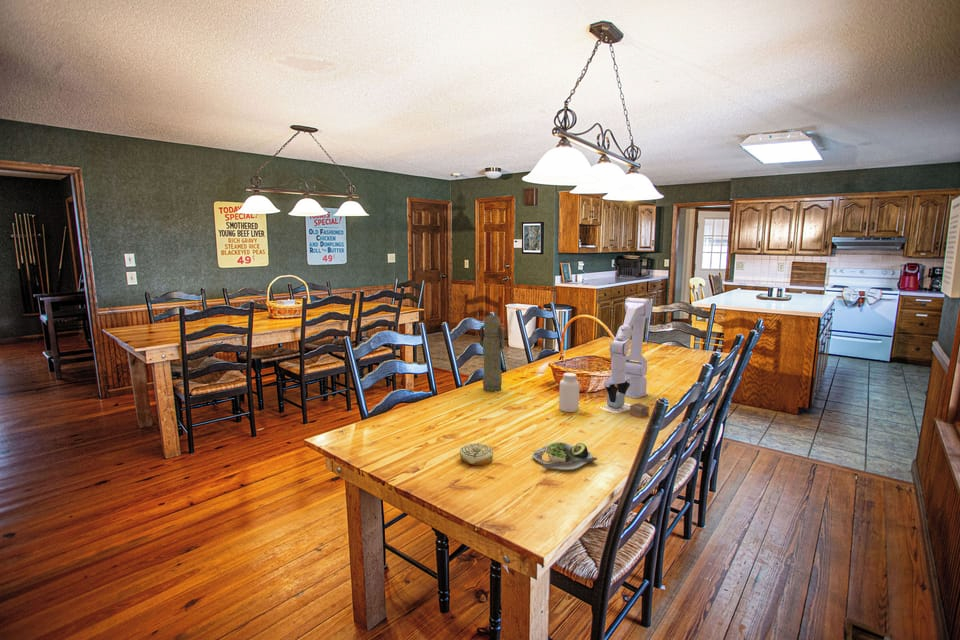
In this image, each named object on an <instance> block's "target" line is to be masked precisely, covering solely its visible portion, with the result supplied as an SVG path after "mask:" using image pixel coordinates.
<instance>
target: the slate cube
mask: <svg viewBox="0 0 960 640" xmlns="http://www.w3.org/2000/svg"><path fill="white" fill-rule="evenodd" d="M625 397H626V396H625V394H623V393H620V392H618V391H617V394H616V400H615V402H614V403H613V402H610V399H609V395H608V392H606V404H607V405H609V406H612V407H615V408H618V407H621V406H624V403H625Z"/></svg>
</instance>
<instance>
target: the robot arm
mask: <svg viewBox="0 0 960 640" xmlns="http://www.w3.org/2000/svg"><path fill="white" fill-rule="evenodd" d="M651 308H652V303H651V300H650V298H639V297H637V298H636V297H631V296H630V297H629V296H628V297H627V298H626V299H625V301H624V309H625V312H626V313H625V316H624V321H623V324H622V325H620V326H619V327H618V329H617V332H616V335H615V338H614V339H613V340H611V341H610V344H609V354H610V358H611V363H610V364H611V365H610V377H608V379H607V380H606V381H604V382H603V383H604V384H603V386H604V388H605V390H606V393H608V395H609V399H610V402H613V403H614V402H615V400H616V394H617V392H620V393H623V394H625V397H629V398H631V399H638V398H641V397H644V396H648V395H649V394H648V393H647V387H648V386H647V384H648V383H647V382H648V380H647V378H646V375H647V374H648V373H647V372H648V360H647V359H646V358H645V356H643V355H642V351H643V350H642V349H643V341H644V333H645V325H646V320H647V318H650V314H651ZM630 340H631V342H630ZM629 350H630V352H629ZM628 353H629V354H628Z"/></svg>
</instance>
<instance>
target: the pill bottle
mask: <svg viewBox="0 0 960 640" xmlns="http://www.w3.org/2000/svg"><path fill="white" fill-rule="evenodd" d="M562 375H563V377H562V379H561V380H560V382H559V392H558V395H559V396H558V409H559V410H560V411H562V412H566V413H575V412H577V411H579V405H580V404H579V402H580V399H579V397H580V382H579V381H578V380H577V374H576V373H574V372H564V373H563V374H562Z"/></svg>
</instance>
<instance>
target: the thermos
mask: <svg viewBox="0 0 960 640" xmlns="http://www.w3.org/2000/svg"><path fill="white" fill-rule="evenodd" d="M479 335H480V339H479V340H480V343H479V344H480V347H482V355H483V374H482V386H483V387H482V390H483V391H484V390H485V392H487V391H490V392H489V393H496V392H495V391H497V392H501V390H502V384H503V382H502V380H503V379H502V377H503V375H502V372H501V371H502V369H501V367H502V366H501V361H502V359H501V357H502V356H501V355H502V350H504V349H505V328H504V326H502V325H501V320H500V317H499V316H498V315H497V314H496V315H495V314H488V315H486V316H485V318H484V320H483V325H481V326H480V327H479Z"/></svg>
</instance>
